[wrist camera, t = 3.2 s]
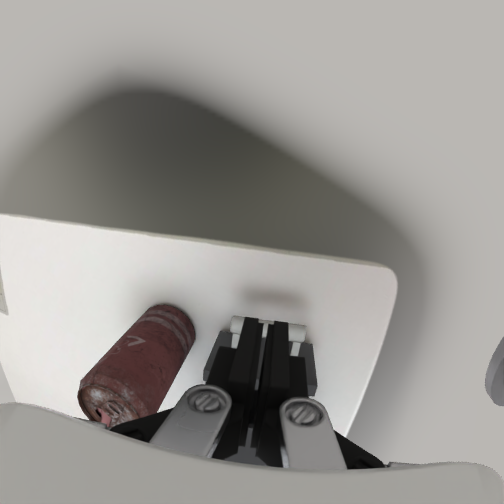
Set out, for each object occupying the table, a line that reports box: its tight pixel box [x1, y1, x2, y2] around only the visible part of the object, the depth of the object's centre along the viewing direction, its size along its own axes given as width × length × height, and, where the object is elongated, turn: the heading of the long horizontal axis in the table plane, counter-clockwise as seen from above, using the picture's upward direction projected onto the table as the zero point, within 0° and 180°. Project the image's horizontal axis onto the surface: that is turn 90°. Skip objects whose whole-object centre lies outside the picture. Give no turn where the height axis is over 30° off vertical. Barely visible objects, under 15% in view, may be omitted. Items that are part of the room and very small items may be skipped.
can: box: [77, 305, 195, 428], centre depth 24 cm, size 6×6×14 cm
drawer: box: [203, 316, 317, 423], centre depth 27 cm, size 15×9×7 cm, turn 174°
